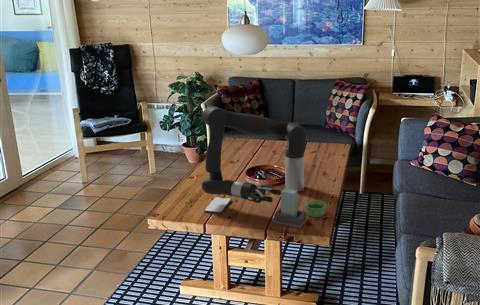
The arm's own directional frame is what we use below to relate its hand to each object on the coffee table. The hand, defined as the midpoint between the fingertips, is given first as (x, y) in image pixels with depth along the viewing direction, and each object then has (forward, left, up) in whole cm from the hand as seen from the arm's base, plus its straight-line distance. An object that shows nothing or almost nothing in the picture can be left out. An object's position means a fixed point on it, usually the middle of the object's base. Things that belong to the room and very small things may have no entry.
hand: (276, 196), depth 224 cm
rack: (0, +6, -10) cm, 12 cm away
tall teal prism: (0, +6, -9) cm, 11 cm away
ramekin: (-12, +13, -11) cm, 21 cm away
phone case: (0, -30, -11) cm, 32 cm away
